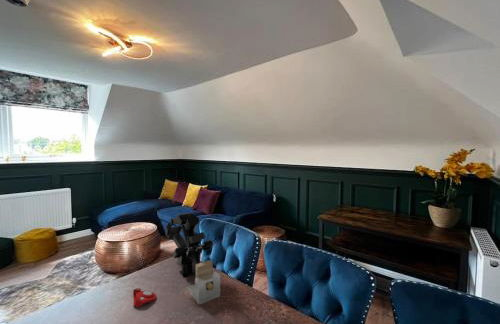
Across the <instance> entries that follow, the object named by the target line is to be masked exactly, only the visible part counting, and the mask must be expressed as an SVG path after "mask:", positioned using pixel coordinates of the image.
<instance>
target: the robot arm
mask: <svg viewBox="0 0 500 324" xmlns="http://www.w3.org/2000/svg"><path fill="white" fill-rule="evenodd" d="M199 223H200V218H199V217H198V216H197V215H194V213H191V212H186V213H185V212H184V213H180V214H178V215H176V217H171V218H170V219H169V222H168V223H167V225H166V226H165V236H166V237H167V238H168V239H169V240H172V241H173V242H174V244H175V245H176V247H175V248H174V250H173V252H172V253H173V254H172V256H173V259H177V263H179V265H180V266H181V270H179V273H180V275H181V276H182V278H186V277H189V276H192V275H196V270H194V264H195V265H196V264H199V263H201V253H202V252H203V251H204V252H205V251H208V250H211V249H212V247H213V246H214V242H213V240H212V239H209V240H204V239H206V235H205V233H204V231H202V232H199V233H196V232H195V231H196V229H197V228H198V225H199ZM175 225H176V226H175ZM181 233H183V236H182V234H181ZM203 240H204V241H203ZM202 241H203V243H202V244H201V242H202Z"/></svg>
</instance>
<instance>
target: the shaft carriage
mask: <svg viewBox="0 0 500 324" xmlns="http://www.w3.org/2000/svg"><path fill="white" fill-rule="evenodd" d="M213 264H214V263H213V261H212V260H207V261H203V262H200V263H199V264H195V278H198V277H201V276H204V275H207V274H210V273H213V272H214V270H213V269H214V268H213V267H214V265H213ZM206 287H207V288H208V289H209V290H210V291H212V290H213V289H214V285H213V284H212V283H211V282H209V283H206Z"/></svg>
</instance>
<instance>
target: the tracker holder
mask: <svg viewBox="0 0 500 324" xmlns="http://www.w3.org/2000/svg"><path fill="white" fill-rule="evenodd" d="M132 294H133V295H132V296H133V306H134V307H136V308H140V307H141V306H143V305H145V304H146V303H152V302H154V301H156V300H157V295H156V293H155V292H153V291H149V290H142V288H139V287H136V288H133V289H132Z"/></svg>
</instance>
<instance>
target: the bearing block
mask: <svg viewBox="0 0 500 324" xmlns="http://www.w3.org/2000/svg"><path fill="white" fill-rule="evenodd" d="M209 282H211V283H212V284H213V285H214V289H213V290H212V291H210V290H209V289H208V288H207V287H206V283H209ZM186 289H187V290H188V293H189V294H190V295H191V296H192V298H193V300H195V302H196V304H197V305H202V304H205V303H207V302H210V301H212V300H215V299H217V298H220V297H221V275H220V273H218V272H217V271H213V273H210V274H207V275H204V276H201V277H198V278H196V277H195V278H194V284H190V285H188V286H186Z"/></svg>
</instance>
